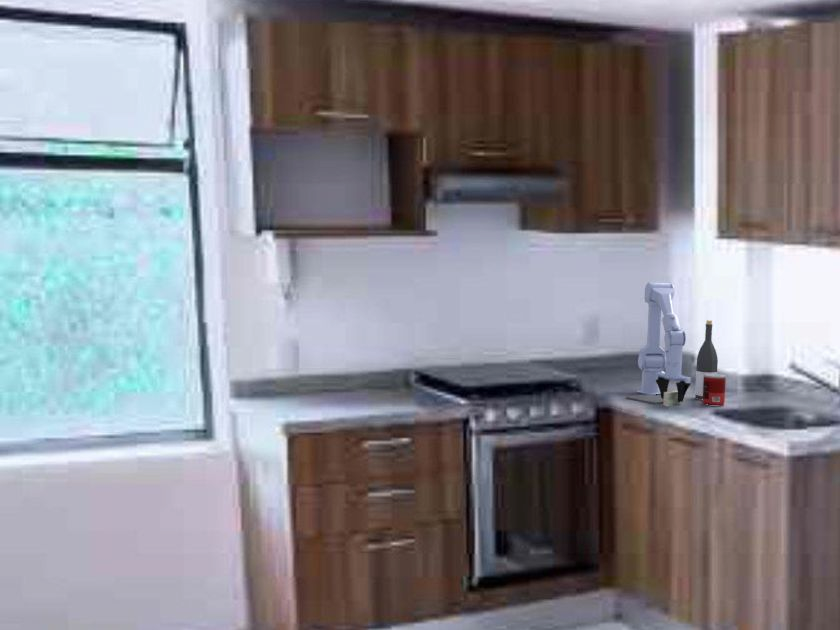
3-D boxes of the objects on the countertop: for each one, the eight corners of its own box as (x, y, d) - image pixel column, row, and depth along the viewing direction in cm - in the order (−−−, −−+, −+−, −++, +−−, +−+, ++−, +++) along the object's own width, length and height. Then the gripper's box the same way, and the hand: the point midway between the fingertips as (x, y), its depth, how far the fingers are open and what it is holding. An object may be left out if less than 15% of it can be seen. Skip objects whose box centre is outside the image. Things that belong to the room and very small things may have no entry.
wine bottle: (691, 398, 386) (695, 320, 383) (698, 396, 393) (702, 318, 390) (711, 401, 382) (716, 322, 379) (719, 398, 388) (723, 320, 385)
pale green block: (675, 403, 375) (676, 390, 375) (680, 404, 374) (680, 391, 373) (663, 405, 371) (663, 392, 371) (667, 406, 369) (668, 393, 369)
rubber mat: (649, 395, 392) (649, 393, 392) (678, 401, 381) (678, 399, 381) (626, 398, 384) (626, 396, 384) (655, 404, 373) (655, 402, 373)
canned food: (728, 404, 376) (730, 375, 374) (716, 407, 370) (717, 377, 369) (710, 401, 381) (711, 372, 380) (698, 403, 376) (699, 374, 375)
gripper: (650, 361, 374) (649, 397, 376) (682, 366, 363) (680, 404, 364) (663, 360, 378) (661, 396, 380) (695, 365, 367) (693, 402, 368)
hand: (672, 399), depth 372 cm, fingers open, 7 cm apart
